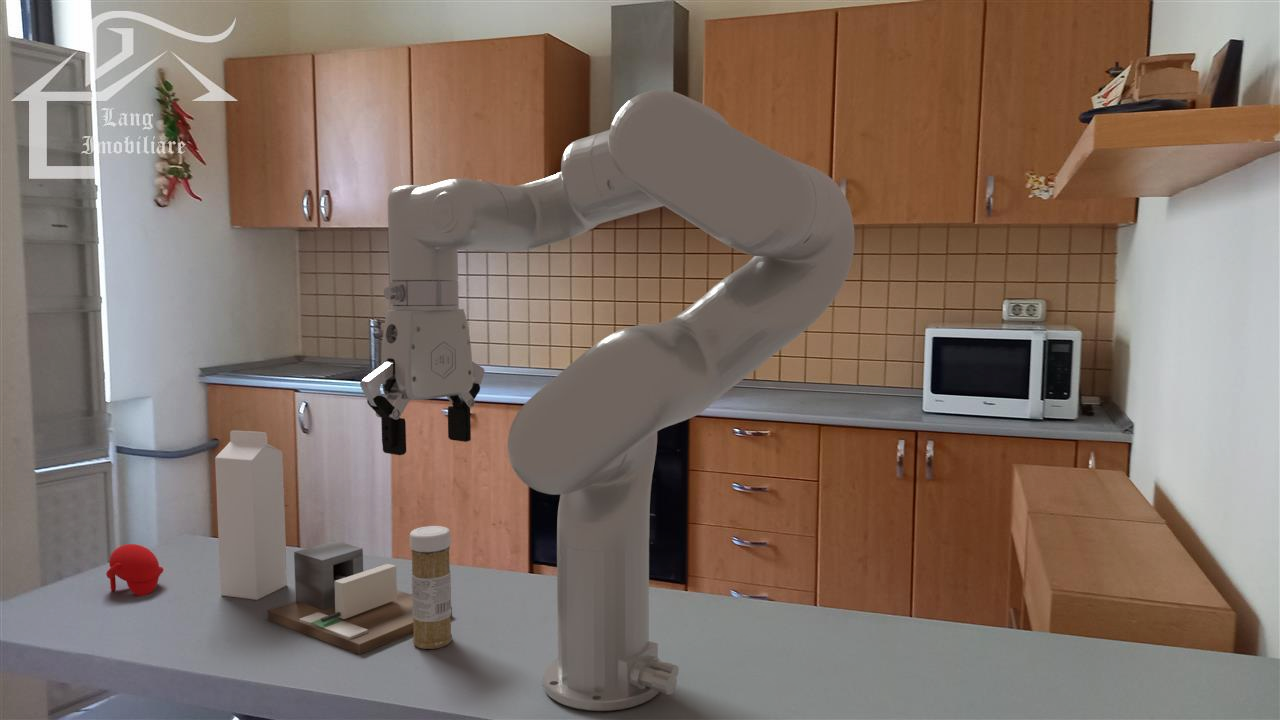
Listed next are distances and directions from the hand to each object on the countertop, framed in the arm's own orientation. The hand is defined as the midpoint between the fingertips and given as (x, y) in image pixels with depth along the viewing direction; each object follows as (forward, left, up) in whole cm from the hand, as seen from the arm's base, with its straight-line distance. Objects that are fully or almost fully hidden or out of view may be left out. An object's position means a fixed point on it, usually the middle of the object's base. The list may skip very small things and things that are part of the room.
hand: (428, 446), depth 100 cm
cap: (+47, +11, -24) cm, 54 cm away
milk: (+33, +2, -23) cm, 41 cm away
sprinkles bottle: (0, 0, -23) cm, 23 cm away
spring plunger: (+14, +1, -22) cm, 26 cm away
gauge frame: (+13, 0, -23) cm, 27 cm away
